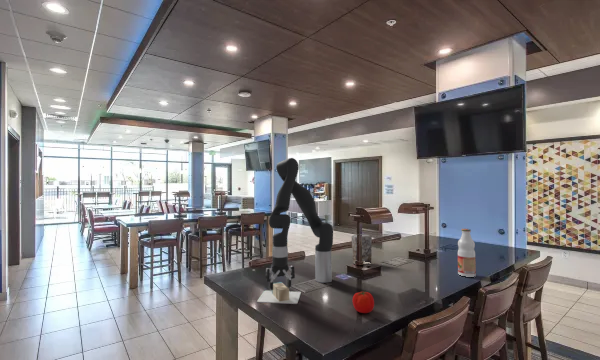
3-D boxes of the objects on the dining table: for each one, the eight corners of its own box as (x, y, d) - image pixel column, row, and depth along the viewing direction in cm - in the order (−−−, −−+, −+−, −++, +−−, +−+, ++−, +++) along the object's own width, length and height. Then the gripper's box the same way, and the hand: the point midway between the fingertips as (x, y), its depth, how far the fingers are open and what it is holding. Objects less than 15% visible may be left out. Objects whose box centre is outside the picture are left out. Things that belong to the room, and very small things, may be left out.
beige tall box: (279, 290, 142) (271, 283, 153) (279, 301, 142) (271, 293, 153) (289, 289, 144) (281, 281, 155) (289, 299, 144) (281, 291, 155)
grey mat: (301, 292, 155) (301, 291, 155) (297, 303, 140) (297, 303, 140) (264, 291, 157) (264, 290, 157) (256, 302, 142) (256, 301, 142)
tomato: (371, 306, 136) (371, 288, 136) (377, 316, 126) (377, 296, 126) (350, 307, 136) (350, 288, 136) (355, 317, 126) (355, 296, 126)
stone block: (357, 266, 206) (357, 236, 206) (351, 264, 212) (350, 235, 212) (372, 264, 211) (372, 235, 212) (366, 261, 218) (366, 233, 218)
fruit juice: (471, 279, 176) (471, 230, 177) (455, 275, 183) (454, 229, 184) (478, 276, 182) (477, 229, 183) (462, 272, 189) (461, 227, 190)
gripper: (291, 252, 155) (291, 284, 155) (264, 254, 150) (264, 288, 150) (296, 255, 148) (296, 289, 148) (267, 258, 143) (268, 292, 143)
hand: (280, 288), depth 149 cm, fingers open, 8 cm apart
